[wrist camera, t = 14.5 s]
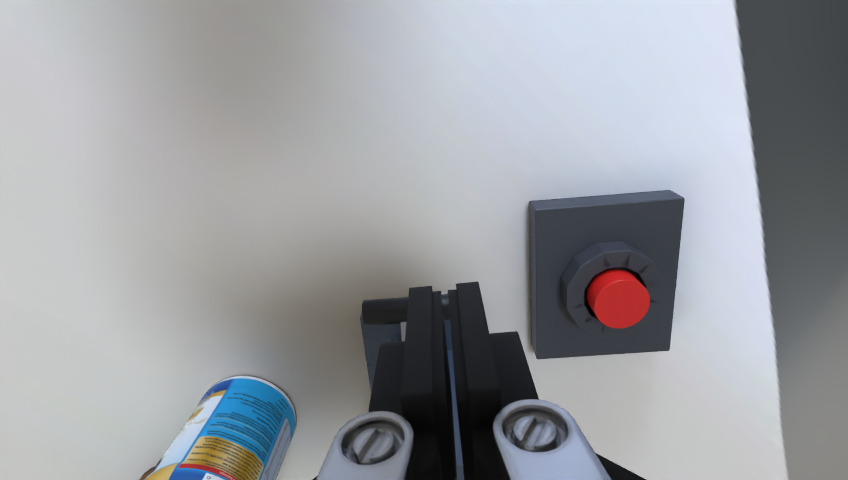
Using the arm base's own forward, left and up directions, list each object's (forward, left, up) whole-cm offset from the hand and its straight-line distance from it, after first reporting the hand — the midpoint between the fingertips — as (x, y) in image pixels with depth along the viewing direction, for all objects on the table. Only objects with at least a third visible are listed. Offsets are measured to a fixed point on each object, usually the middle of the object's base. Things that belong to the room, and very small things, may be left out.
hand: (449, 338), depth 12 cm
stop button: (+5, +14, -20) cm, 25 cm away
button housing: (+5, +14, -24) cm, 28 cm away
